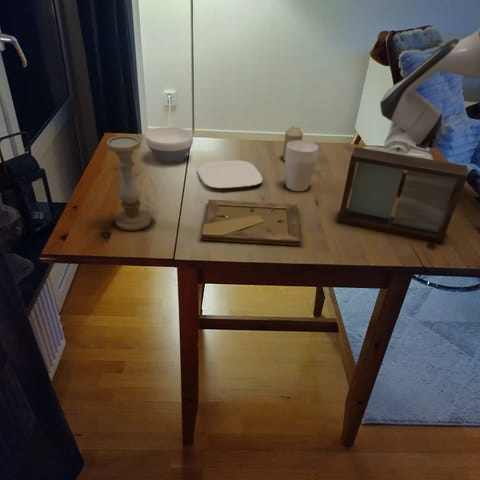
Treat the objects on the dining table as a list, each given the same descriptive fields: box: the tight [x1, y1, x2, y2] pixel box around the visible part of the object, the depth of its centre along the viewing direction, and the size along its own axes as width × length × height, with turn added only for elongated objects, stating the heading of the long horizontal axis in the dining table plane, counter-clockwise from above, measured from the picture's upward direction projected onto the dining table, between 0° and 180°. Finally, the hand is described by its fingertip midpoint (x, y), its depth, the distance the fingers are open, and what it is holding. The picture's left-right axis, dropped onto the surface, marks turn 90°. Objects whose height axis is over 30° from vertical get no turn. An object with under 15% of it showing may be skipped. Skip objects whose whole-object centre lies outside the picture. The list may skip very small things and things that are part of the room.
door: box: [347, 162, 404, 219], centre depth 117 cm, size 4×11×14 cm, turn 70°
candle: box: [282, 126, 304, 162], centre depth 147 cm, size 6×6×10 cm
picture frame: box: [201, 199, 302, 246], centre depth 117 cm, size 19×2×24 cm
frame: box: [337, 146, 469, 244], centre depth 114 cm, size 6×26×18 cm, turn 70°
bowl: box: [145, 126, 194, 165], centre depth 145 cm, size 14×14×8 cm
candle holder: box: [105, 135, 152, 232], centre depth 109 cm, size 9×9×20 cm
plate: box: [196, 160, 264, 190], centre depth 137 cm, size 18×18×2 cm
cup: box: [284, 139, 319, 192], centre depth 132 cm, size 9×9×12 cm
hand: (392, 171), depth 124 cm, fingers open, 8 cm apart
